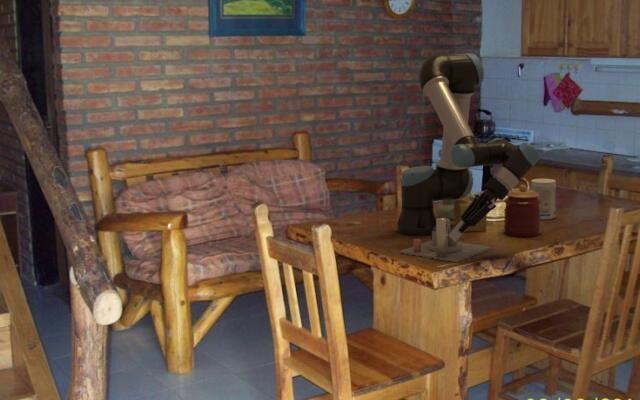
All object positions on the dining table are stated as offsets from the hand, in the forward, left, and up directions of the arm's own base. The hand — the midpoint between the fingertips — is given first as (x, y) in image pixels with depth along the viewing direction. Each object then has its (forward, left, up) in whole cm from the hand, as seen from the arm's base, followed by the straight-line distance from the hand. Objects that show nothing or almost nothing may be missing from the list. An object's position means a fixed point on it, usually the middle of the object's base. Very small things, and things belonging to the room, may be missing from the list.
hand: (451, 238), depth 283 cm
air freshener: (-34, +54, -7) cm, 64 cm away
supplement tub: (-5, +75, -7) cm, 76 cm away
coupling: (-5, +4, -5) cm, 8 cm away
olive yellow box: (-18, +42, -7) cm, 46 cm away
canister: (+1, +46, -7) cm, 47 cm away
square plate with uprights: (-7, +7, -7) cm, 12 cm away
